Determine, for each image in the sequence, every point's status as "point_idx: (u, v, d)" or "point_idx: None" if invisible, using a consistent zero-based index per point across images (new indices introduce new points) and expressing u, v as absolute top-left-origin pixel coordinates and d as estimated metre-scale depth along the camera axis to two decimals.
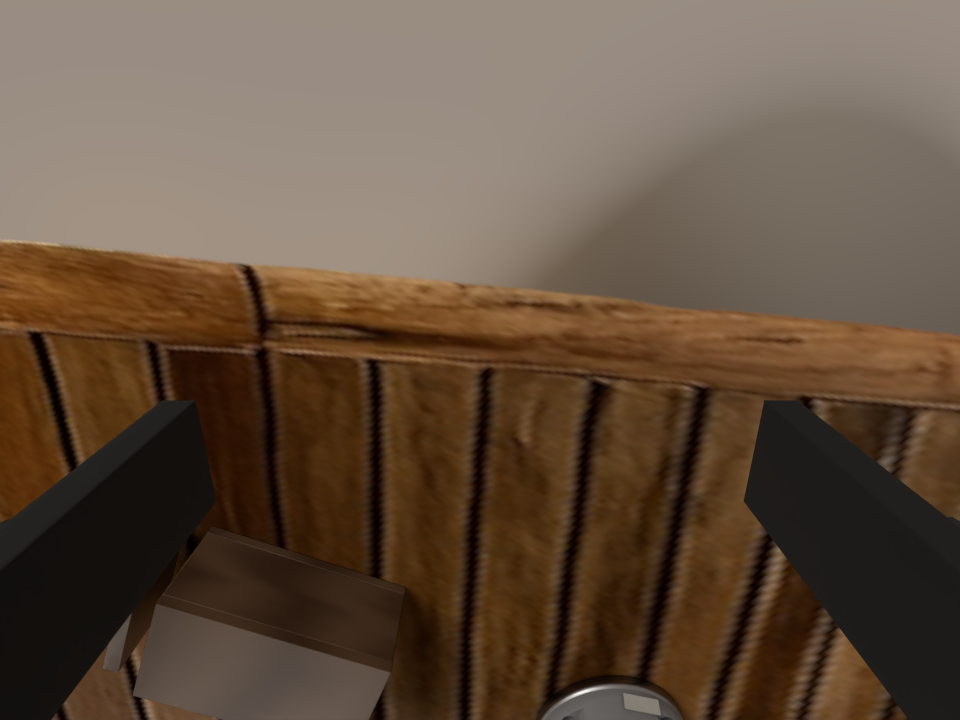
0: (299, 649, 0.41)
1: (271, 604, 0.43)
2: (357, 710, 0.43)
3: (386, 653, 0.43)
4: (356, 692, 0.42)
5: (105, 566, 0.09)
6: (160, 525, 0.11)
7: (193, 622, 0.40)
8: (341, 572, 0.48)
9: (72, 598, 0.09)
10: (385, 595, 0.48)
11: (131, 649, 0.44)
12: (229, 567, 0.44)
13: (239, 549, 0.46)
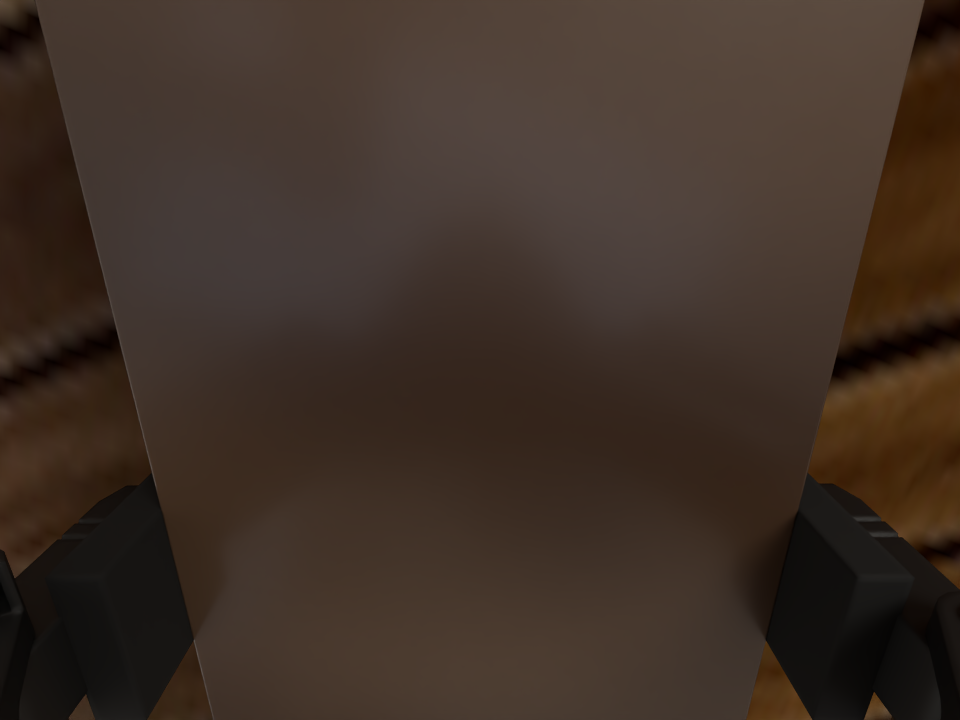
0: (795, 447, 0.08)
1: None
2: None
3: None
4: (588, 700, 0.10)
5: None
6: None
7: None
8: None
9: None
10: None
11: None
12: None
13: None
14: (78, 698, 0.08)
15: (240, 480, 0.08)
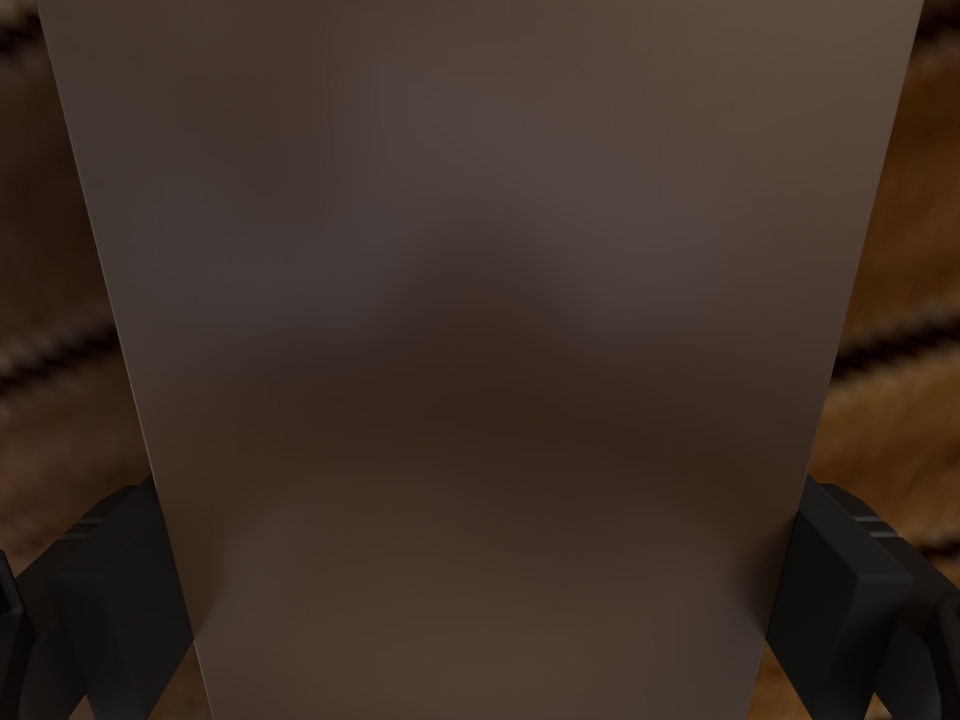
0: (795, 447, 0.08)
1: None
2: None
3: None
4: (588, 700, 0.10)
5: None
6: None
7: None
8: None
9: None
10: None
11: None
12: None
13: None
14: (78, 698, 0.08)
15: (239, 481, 0.08)
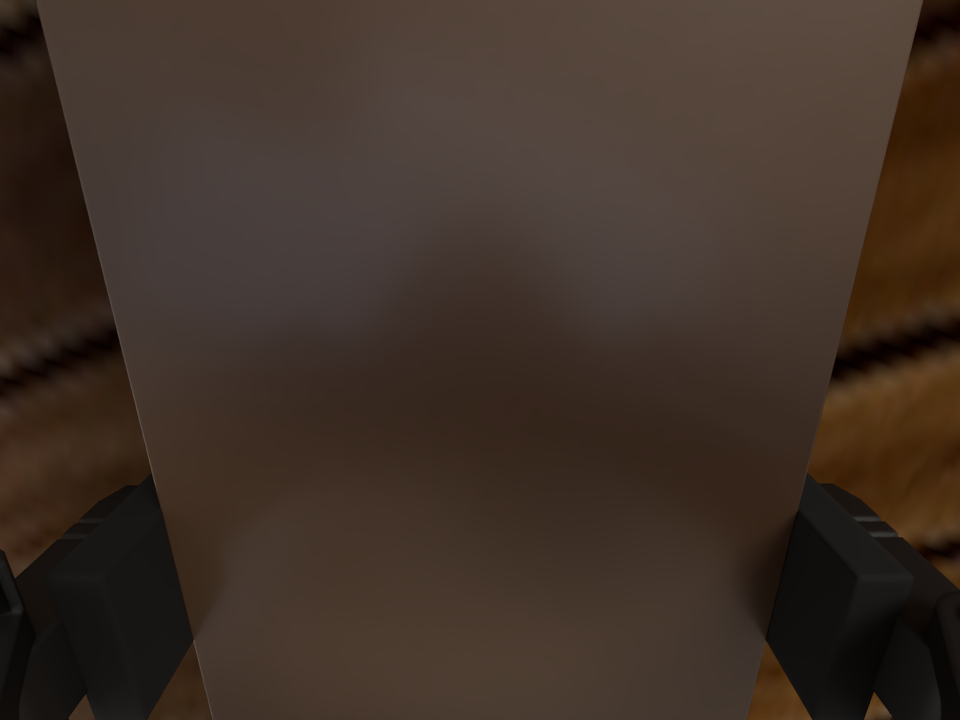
0: (795, 446, 0.08)
1: None
2: None
3: None
4: (588, 701, 0.10)
5: None
6: None
7: None
8: None
9: None
10: None
11: None
12: None
13: None
14: (78, 698, 0.08)
15: (239, 480, 0.08)
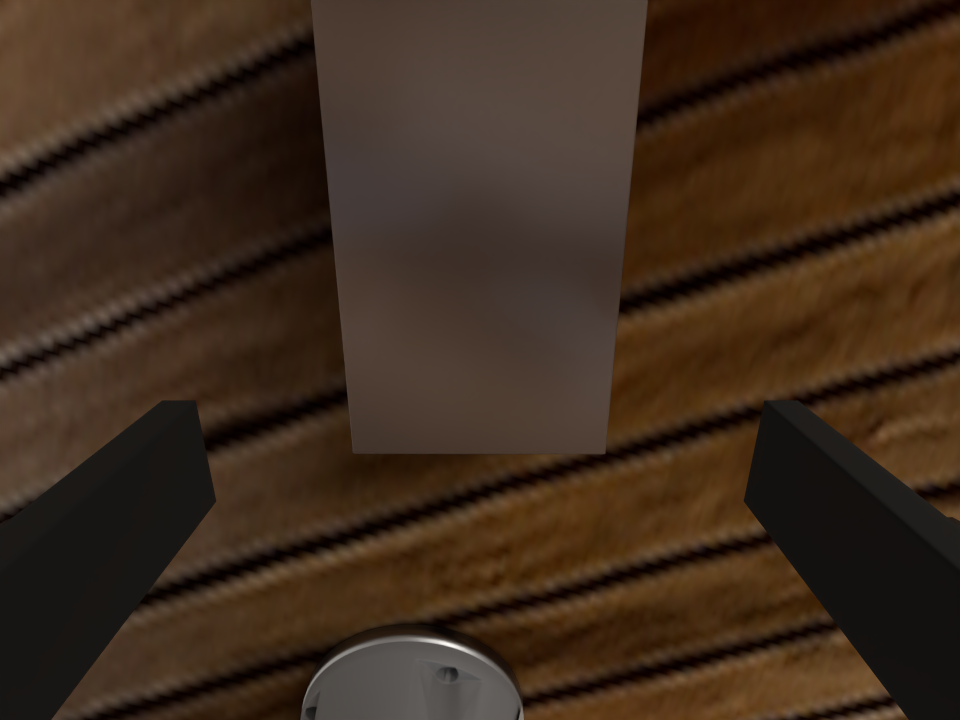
0: (613, 276, 0.19)
1: None
2: (482, 428, 0.21)
3: None
4: (531, 413, 0.21)
5: (105, 566, 0.09)
6: (160, 525, 0.11)
7: (622, 13, 0.16)
8: None
9: (72, 598, 0.09)
10: None
11: None
12: None
13: None
14: None
15: (375, 292, 0.19)
